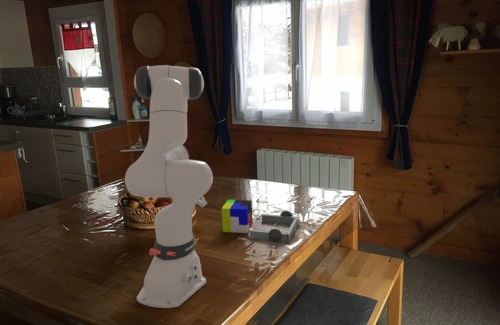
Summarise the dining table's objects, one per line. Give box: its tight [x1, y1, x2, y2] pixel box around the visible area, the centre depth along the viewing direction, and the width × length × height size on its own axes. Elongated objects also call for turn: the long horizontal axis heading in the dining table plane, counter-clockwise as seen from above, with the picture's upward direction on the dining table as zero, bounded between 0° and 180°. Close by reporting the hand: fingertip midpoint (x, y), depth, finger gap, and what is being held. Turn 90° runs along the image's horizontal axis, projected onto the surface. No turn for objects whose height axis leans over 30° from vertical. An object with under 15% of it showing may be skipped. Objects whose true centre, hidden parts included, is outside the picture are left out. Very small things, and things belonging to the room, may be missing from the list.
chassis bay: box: [249, 210, 300, 243], centre depth 167 cm, size 19×15×5 cm
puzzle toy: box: [221, 199, 253, 234], centre depth 172 cm, size 10×10×10 cm
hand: (204, 205), depth 175 cm, fingers closed
